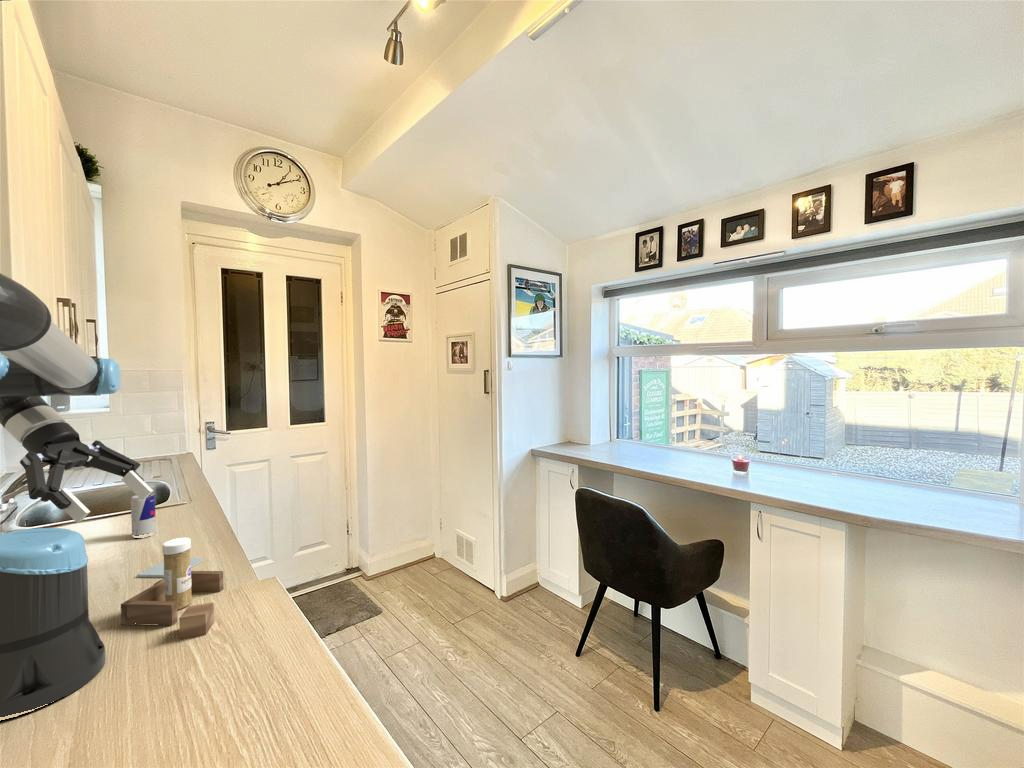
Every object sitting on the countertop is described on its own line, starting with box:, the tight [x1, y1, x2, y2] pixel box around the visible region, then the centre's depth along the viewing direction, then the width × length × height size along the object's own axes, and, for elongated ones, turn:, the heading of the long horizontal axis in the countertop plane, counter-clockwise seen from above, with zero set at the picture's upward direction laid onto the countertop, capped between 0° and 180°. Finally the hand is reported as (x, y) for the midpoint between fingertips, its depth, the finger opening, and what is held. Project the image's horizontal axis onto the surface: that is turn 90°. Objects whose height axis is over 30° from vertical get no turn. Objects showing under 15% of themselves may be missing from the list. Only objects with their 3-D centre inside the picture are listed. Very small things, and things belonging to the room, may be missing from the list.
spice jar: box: [161, 537, 193, 611], centre depth 86 cm, size 5×5×13 cm
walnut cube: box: [178, 602, 215, 640], centre depth 78 cm, size 4×4×4 cm
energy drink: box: [130, 492, 157, 536], centre depth 124 cm, size 5×5×12 cm
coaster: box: [136, 557, 205, 579], centre depth 103 cm, size 9×9×1 cm
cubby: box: [120, 570, 225, 626], centre depth 86 cm, size 13×10×4 cm
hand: (118, 505), depth 87 cm, fingers open, 13 cm apart
